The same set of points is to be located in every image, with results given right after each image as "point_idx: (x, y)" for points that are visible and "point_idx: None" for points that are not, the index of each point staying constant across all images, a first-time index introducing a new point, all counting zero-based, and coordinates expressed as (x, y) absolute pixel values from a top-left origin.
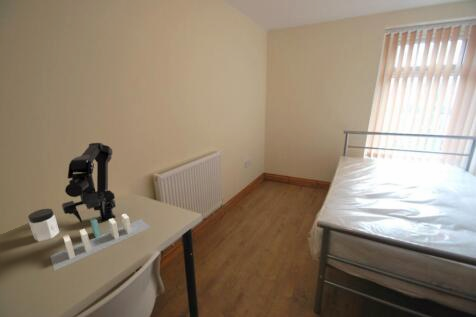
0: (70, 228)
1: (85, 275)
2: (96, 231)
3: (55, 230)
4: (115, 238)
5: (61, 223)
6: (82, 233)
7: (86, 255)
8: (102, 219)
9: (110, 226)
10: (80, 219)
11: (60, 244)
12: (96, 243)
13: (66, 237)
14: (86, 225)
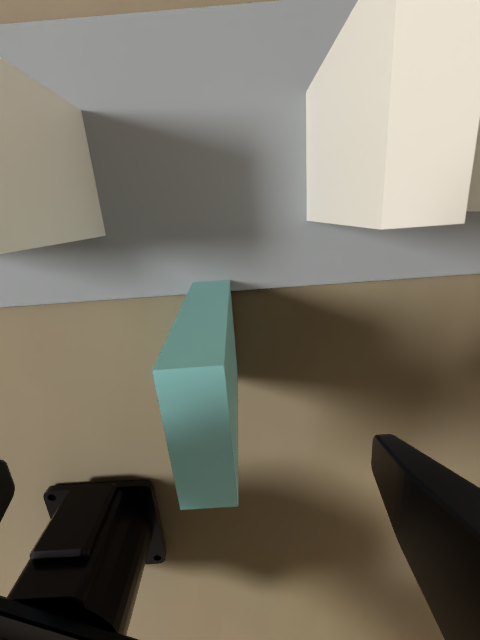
0: (350, 539)
1: None
2: (212, 301)
3: None
4: (71, 109)
5: (376, 622)
6: (469, 32)
7: None
8: (142, 514)
9: (29, 198)
10: (432, 475)
11: (456, 385)
12: (245, 176)
13: None
14: (256, 513)
